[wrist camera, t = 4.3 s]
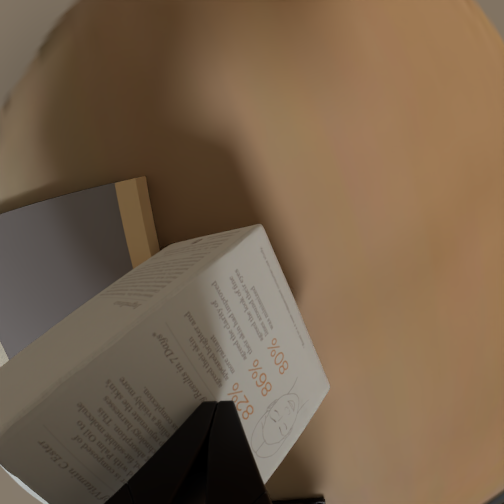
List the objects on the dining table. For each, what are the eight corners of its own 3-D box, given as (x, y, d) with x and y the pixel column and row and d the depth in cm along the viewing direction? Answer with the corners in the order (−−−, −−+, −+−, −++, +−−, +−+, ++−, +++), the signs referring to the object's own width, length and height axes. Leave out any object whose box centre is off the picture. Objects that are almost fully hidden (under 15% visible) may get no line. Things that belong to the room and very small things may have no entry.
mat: (197, 390, 17) (193, 404, 16) (25, 378, 18) (17, 387, 17) (145, 175, 13) (135, 178, 12) (-33, 225, 15) (-45, 230, 13)
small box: (173, 239, 14) (-22, 377, 7) (267, 217, 10) (-28, 443, 3) (244, 372, 17) (106, 508, 9) (335, 388, 13) (177, 582, 6)
